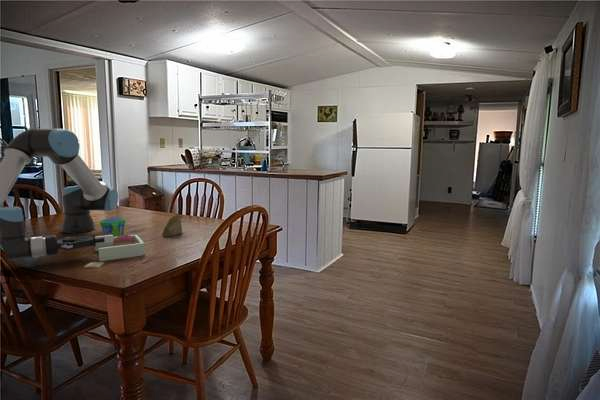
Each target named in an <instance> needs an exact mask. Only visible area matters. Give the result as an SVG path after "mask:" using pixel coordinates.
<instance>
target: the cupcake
mask: <svg viewBox="0 0 600 400" xmlns="http://www.w3.org/2000/svg"><path fill="white" fill-rule="evenodd" d="M128 235H129V236H128ZM130 235H131V234H127V223H126V222H125V227H124V235H120V236H119V237H117V238H115V239H114V241H113V244H114V246H121V245H129V244H134V243H135V238H133V237H132V236H130Z"/></svg>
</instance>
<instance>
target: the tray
mask: <svg viewBox="0 0 600 400" xmlns="http://www.w3.org/2000/svg"><path fill="white" fill-rule="evenodd" d="M127 235H128V236H129V235H130V236H132V237H133V238H135V243H134V244H129V245H121V246H114V244H113V242H108V243H99V244H96V246H94V251H95V252H98V259H99V260H98V261H99V262H105V261H113V260H120V259H127V258H133V257H140V256H144V255H146V252H145V242H144V241H143V240H142V238H140V236H139V235H138V234H127ZM118 237H119V236H118ZM115 238H117V237H113V241H114V239H115Z"/></svg>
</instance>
